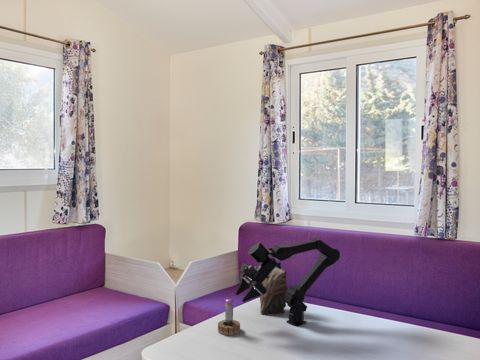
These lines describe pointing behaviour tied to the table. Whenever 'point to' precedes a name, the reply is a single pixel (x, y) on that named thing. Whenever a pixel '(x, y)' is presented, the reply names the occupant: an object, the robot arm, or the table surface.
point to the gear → (228, 328)
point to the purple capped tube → (229, 312)
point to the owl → (274, 293)
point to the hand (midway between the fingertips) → (239, 297)
